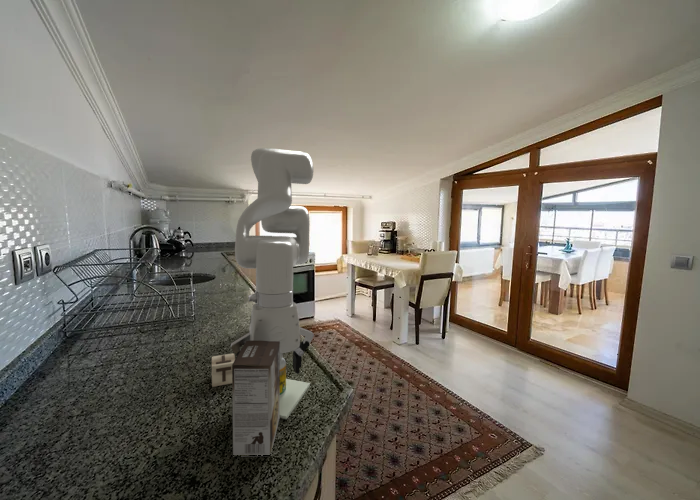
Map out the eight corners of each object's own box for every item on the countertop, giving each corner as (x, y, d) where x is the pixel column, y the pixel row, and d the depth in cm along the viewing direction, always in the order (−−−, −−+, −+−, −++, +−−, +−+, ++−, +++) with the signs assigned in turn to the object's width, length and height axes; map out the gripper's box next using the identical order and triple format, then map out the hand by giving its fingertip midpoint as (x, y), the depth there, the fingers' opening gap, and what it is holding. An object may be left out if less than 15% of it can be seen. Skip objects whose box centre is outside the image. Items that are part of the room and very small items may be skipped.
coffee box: (246, 419, 57) (246, 339, 55) (280, 418, 57) (281, 339, 55) (231, 458, 48) (230, 364, 46) (271, 457, 48) (272, 364, 46)
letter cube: (212, 376, 71) (211, 355, 71) (234, 372, 74) (234, 352, 73) (212, 387, 67) (211, 366, 66) (235, 383, 69) (235, 362, 68)
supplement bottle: (280, 383, 68) (281, 343, 67) (289, 395, 64) (290, 353, 63) (257, 390, 65) (257, 349, 64) (265, 403, 61) (265, 359, 60)
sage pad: (263, 376, 72) (263, 374, 72) (310, 385, 69) (310, 383, 69) (232, 407, 60) (232, 404, 60) (286, 419, 57) (286, 416, 57)
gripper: (231, 308, 55) (232, 393, 57) (319, 299, 62) (317, 375, 64) (229, 297, 61) (230, 374, 63) (308, 290, 69) (307, 360, 71)
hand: (274, 375), depth 64 cm, fingers open, 9 cm apart
